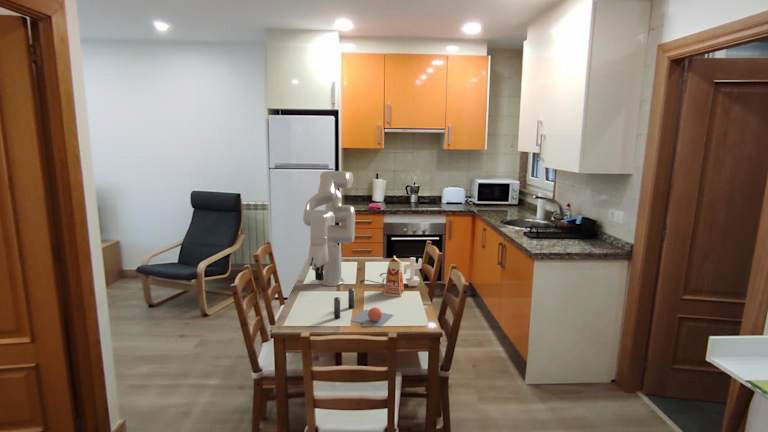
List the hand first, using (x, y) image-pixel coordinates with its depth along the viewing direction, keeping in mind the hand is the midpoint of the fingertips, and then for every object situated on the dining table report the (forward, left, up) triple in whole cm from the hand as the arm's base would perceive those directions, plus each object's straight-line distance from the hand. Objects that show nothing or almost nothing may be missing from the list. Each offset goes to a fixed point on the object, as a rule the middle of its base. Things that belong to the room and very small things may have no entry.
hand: (319, 279), depth 203 cm
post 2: (+13, +6, -13) cm, 20 cm away
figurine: (+27, +50, -14) cm, 58 cm away
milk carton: (+23, +34, -14) cm, 43 cm away
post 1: (+13, -7, -13) cm, 20 cm away
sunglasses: (+9, +48, -14) cm, 51 cm away
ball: (+29, -2, -10) cm, 31 cm away
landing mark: (+27, 0, -13) cm, 30 cm away
